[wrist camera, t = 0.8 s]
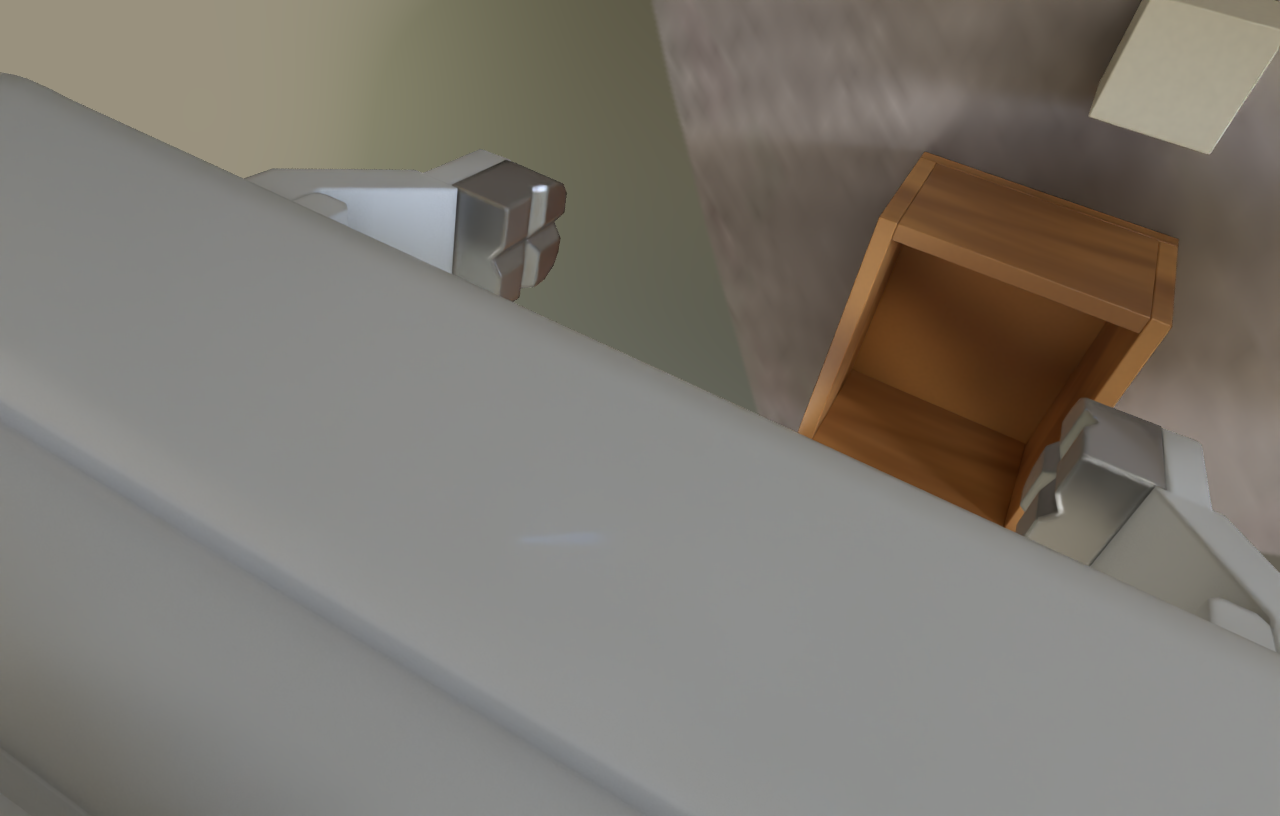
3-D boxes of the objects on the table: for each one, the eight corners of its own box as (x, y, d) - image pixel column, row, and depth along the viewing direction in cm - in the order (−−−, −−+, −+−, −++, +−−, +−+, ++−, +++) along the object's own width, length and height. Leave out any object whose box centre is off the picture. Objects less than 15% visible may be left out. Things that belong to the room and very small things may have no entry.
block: (1158, -31, 31) (1152, -6, 28) (1282, 2, 30) (1290, 32, 27) (1098, 83, 34) (1087, 117, 31) (1210, 117, 33) (1209, 155, 30)
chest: (924, 150, 39) (878, 216, 34) (1179, 238, 36) (1173, 326, 31) (839, 366, 48) (792, 444, 43) (1035, 451, 45) (1012, 546, 40)
